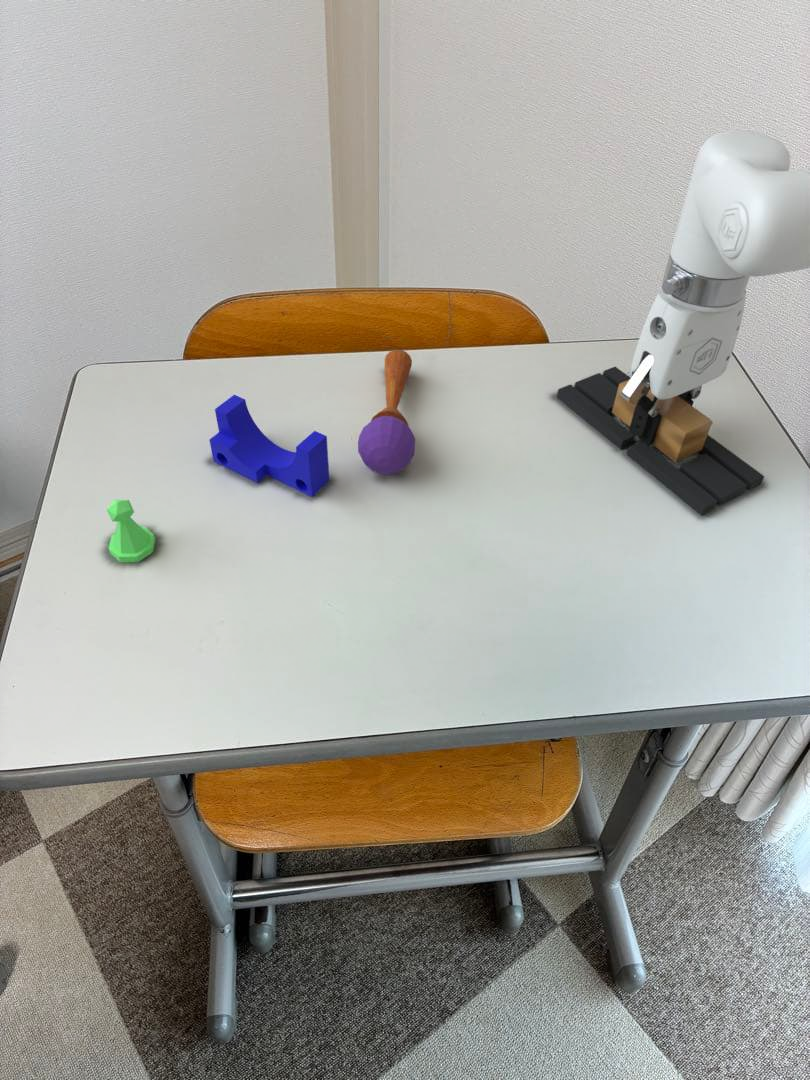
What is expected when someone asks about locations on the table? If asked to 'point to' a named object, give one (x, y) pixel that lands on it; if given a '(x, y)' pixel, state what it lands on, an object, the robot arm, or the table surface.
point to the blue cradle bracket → (267, 451)
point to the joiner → (671, 425)
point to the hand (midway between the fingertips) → (656, 429)
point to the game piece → (128, 534)
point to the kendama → (389, 423)
